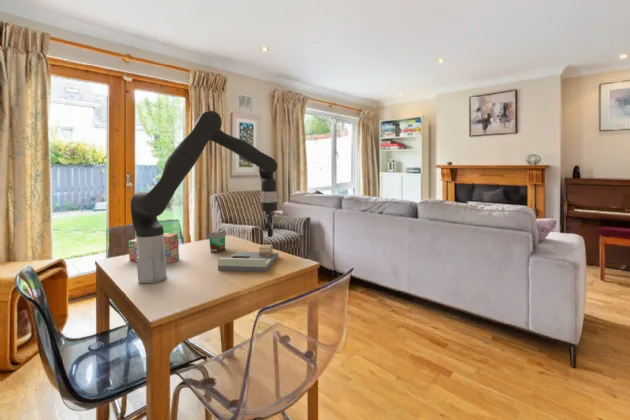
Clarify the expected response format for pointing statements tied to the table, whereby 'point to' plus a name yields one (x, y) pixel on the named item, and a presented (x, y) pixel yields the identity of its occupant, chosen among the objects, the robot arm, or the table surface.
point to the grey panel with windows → (247, 262)
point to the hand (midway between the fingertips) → (270, 236)
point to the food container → (217, 241)
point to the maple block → (265, 250)
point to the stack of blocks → (170, 248)
